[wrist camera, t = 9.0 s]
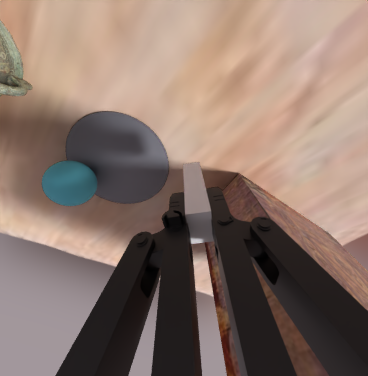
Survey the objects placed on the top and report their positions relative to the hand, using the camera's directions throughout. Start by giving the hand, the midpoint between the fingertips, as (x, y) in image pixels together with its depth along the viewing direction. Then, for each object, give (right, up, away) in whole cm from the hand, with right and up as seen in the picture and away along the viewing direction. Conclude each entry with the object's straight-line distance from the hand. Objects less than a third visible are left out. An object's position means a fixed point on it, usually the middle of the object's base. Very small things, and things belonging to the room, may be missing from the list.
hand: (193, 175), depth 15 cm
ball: (-15, -1, +4) cm, 15 cm away
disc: (-9, +2, +6) cm, 12 cm away
